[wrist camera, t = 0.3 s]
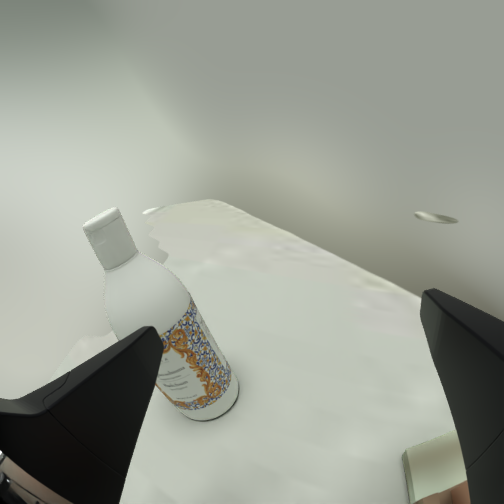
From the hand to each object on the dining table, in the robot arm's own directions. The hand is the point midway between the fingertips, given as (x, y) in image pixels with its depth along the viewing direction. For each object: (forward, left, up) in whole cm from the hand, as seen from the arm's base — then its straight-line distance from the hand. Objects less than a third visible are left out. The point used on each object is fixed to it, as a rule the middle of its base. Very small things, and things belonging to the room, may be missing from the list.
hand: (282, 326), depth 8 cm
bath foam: (+9, +11, -16) cm, 22 cm away
